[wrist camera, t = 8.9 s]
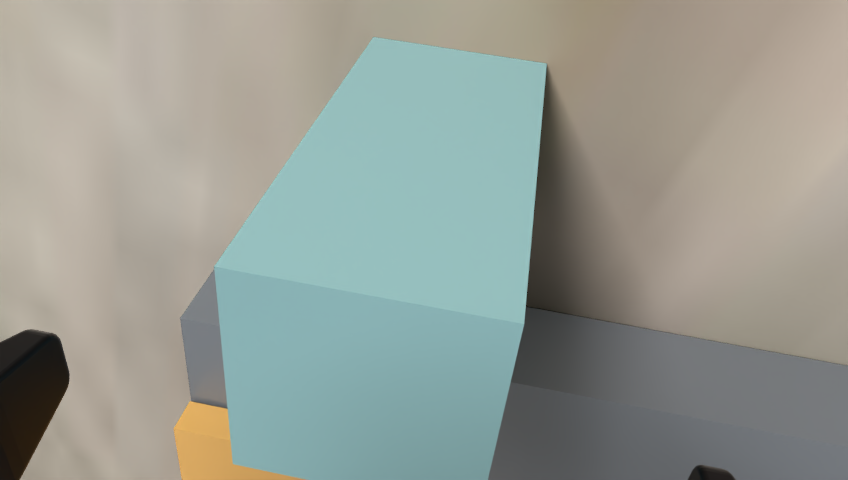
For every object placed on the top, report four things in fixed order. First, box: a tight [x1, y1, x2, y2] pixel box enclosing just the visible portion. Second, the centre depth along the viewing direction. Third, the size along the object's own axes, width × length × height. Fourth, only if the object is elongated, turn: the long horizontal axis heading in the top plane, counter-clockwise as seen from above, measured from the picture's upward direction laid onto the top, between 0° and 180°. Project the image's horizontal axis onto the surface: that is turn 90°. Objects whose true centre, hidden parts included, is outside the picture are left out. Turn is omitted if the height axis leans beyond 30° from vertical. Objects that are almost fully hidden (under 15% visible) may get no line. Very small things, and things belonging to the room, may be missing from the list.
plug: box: [214, 37, 547, 480], centre depth 14 cm, size 4×4×9 cm
